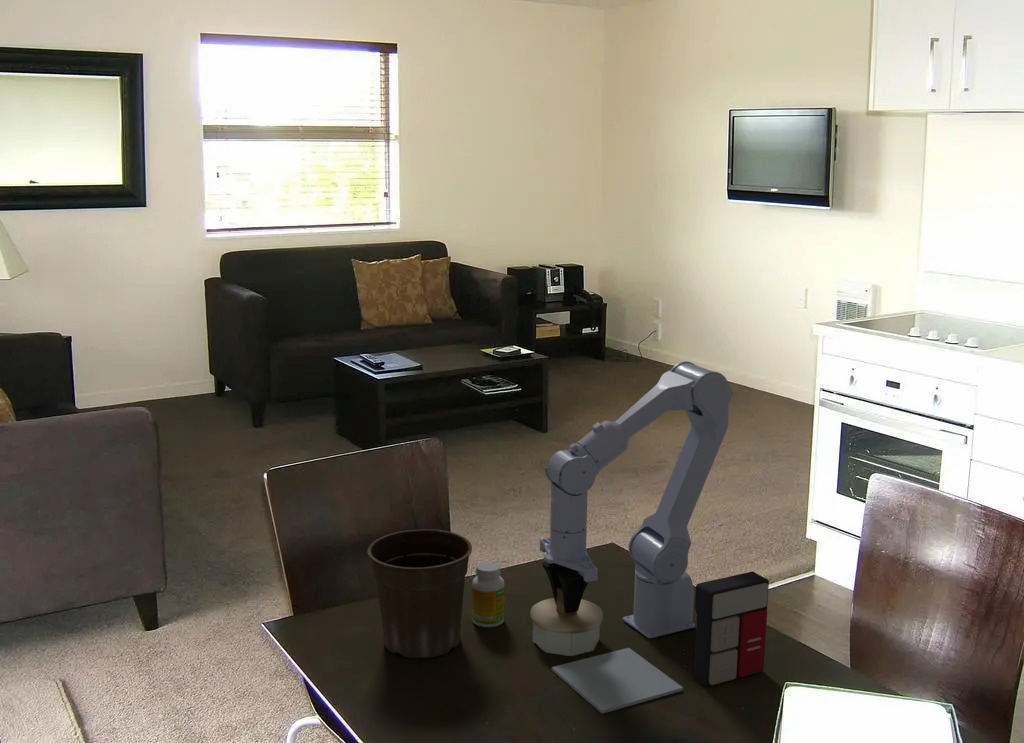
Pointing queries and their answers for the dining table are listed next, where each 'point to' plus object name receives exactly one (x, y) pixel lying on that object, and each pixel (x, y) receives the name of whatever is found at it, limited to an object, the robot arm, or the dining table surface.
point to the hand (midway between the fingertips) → (566, 607)
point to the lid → (566, 616)
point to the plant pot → (420, 589)
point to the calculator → (730, 628)
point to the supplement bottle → (488, 595)
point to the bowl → (565, 641)
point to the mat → (616, 680)
